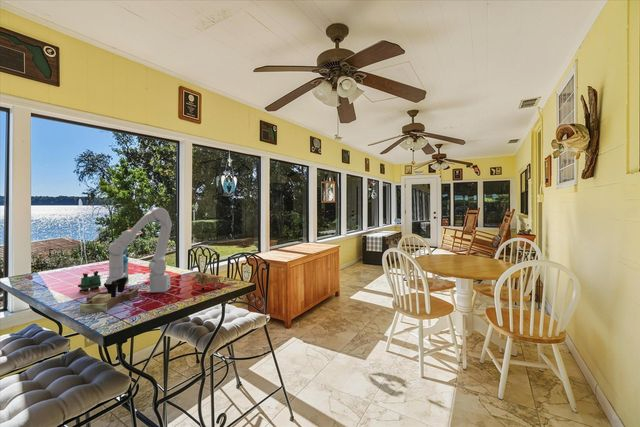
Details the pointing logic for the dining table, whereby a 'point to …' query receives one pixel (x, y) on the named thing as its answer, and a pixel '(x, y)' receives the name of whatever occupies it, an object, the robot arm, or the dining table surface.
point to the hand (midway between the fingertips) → (116, 294)
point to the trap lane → (104, 307)
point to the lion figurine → (207, 280)
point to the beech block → (101, 298)
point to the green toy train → (90, 283)
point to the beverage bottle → (125, 264)
